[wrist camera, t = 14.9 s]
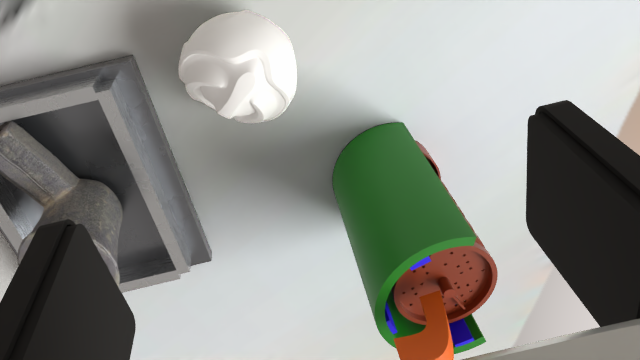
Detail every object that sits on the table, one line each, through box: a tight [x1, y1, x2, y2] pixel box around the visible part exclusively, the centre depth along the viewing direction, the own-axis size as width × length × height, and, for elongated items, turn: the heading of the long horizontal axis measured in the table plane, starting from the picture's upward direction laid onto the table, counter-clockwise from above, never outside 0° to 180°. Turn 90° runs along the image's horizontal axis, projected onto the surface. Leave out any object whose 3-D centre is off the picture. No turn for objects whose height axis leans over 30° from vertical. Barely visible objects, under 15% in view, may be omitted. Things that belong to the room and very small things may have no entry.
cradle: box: [0, 55, 212, 293], centre depth 43 cm, size 19×15×3 cm
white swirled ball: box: [178, 10, 297, 124], centre depth 37 cm, size 8×8×8 cm
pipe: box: [0, 121, 123, 286], centre depth 39 cm, size 6×13×8 cm, turn 32°
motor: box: [332, 123, 497, 360], centre depth 39 cm, size 10×9×20 cm
